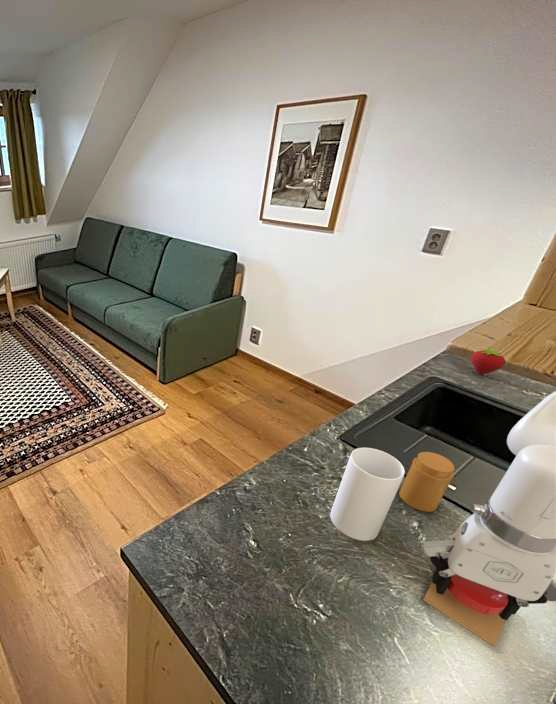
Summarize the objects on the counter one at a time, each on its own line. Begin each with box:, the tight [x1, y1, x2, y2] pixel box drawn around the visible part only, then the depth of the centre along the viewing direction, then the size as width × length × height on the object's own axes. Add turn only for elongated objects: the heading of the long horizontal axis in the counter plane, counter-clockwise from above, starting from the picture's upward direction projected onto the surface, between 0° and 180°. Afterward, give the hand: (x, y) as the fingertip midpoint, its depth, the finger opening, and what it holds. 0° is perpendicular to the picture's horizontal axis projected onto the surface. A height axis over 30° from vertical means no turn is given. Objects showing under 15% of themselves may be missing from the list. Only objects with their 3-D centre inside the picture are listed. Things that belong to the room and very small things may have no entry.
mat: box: [422, 581, 506, 648], centre depth 65 cm, size 9×9×1 cm
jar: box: [398, 451, 456, 513], centre depth 81 cm, size 6×6×11 cm
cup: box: [329, 447, 406, 542], centre depth 76 cm, size 8×8×16 cm
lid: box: [448, 574, 509, 615], centre depth 63 cm, size 7×7×2 cm
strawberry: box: [470, 346, 506, 376], centre depth 120 cm, size 6×8×10 cm
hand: (468, 598), depth 65 cm, fingers closed on lid, 7 cm apart
